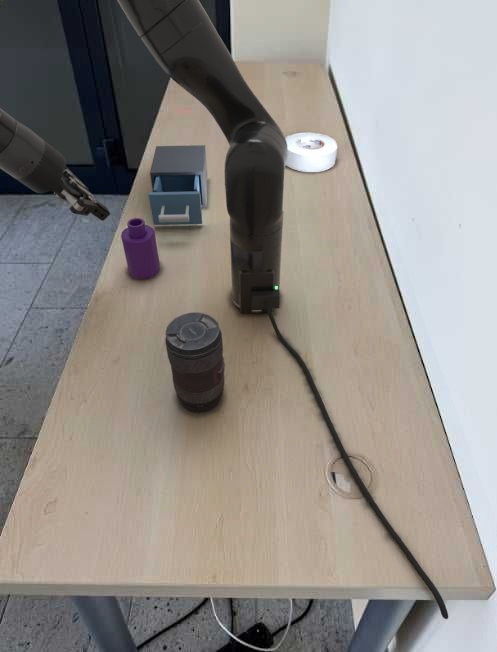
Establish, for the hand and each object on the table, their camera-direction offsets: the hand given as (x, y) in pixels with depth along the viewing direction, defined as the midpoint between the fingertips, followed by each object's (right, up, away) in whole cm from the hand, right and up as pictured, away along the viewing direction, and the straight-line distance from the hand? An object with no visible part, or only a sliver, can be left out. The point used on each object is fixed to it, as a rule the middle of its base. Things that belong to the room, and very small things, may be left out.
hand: (105, 215), depth 90 cm
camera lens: (+19, -32, -11) cm, 39 cm away
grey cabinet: (+9, +14, +36) cm, 40 cm away
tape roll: (+44, +27, +50) cm, 72 cm away
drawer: (+10, +6, +26) cm, 29 cm away
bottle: (+4, -9, +13) cm, 16 cm away
